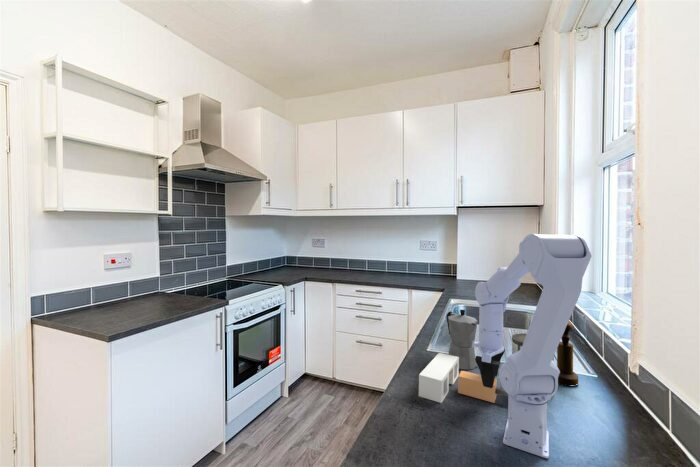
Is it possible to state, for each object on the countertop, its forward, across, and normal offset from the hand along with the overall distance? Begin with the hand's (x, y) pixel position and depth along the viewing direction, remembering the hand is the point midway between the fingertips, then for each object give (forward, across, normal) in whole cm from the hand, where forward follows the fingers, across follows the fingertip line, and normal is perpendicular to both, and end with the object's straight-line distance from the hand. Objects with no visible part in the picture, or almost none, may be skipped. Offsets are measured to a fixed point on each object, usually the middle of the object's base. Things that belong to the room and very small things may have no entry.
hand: (490, 380), depth 81 cm
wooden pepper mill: (+5, -23, +17) cm, 29 cm away
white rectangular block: (+5, 0, -13) cm, 14 cm away
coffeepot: (+5, -19, -12) cm, 23 cm away
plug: (+5, 0, -1) cm, 5 cm away
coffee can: (+5, -12, +9) cm, 16 cm away
